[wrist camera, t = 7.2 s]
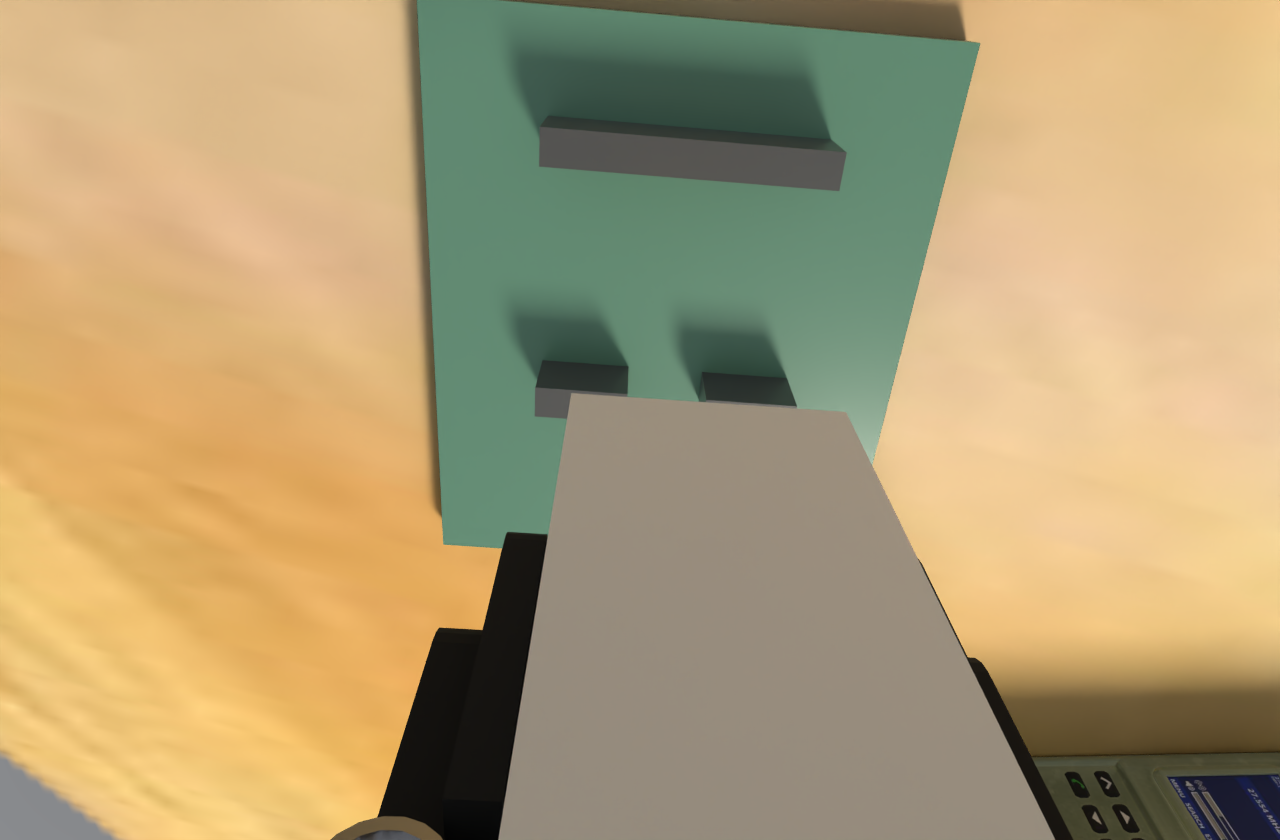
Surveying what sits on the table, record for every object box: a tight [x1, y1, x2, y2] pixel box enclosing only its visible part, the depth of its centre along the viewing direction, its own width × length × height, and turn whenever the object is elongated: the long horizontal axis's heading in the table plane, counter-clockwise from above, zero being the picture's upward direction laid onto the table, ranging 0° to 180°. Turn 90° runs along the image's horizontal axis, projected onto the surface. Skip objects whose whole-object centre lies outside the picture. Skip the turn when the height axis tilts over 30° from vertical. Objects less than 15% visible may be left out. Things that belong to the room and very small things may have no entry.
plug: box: [498, 393, 1055, 840], centre depth 10 cm, size 4×6×8 cm, turn 175°
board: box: [417, 0, 980, 548], centre depth 25 cm, size 15×18×3 cm
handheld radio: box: [1032, 752, 1280, 840], centre depth 34 cm, size 7×3×25 cm
